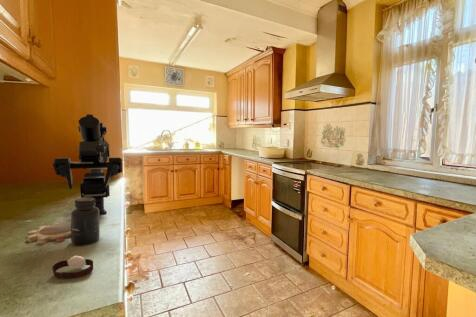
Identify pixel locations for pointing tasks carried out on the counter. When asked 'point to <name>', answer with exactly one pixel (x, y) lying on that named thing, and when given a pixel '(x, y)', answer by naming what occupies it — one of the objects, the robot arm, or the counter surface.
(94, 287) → the counter surface
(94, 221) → the supplement bottle
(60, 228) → the sprocket wheel
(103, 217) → the counter surface
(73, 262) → the watch
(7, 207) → the counter surface
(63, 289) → the counter surface
